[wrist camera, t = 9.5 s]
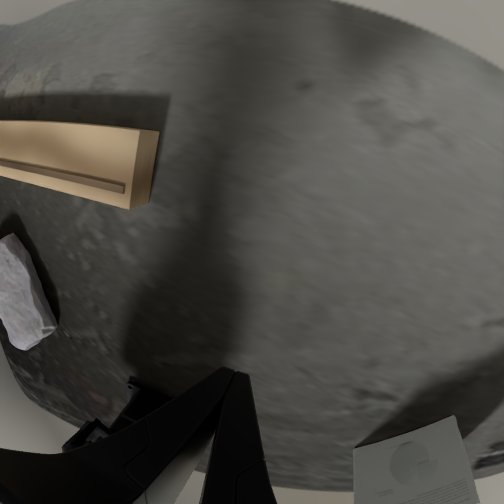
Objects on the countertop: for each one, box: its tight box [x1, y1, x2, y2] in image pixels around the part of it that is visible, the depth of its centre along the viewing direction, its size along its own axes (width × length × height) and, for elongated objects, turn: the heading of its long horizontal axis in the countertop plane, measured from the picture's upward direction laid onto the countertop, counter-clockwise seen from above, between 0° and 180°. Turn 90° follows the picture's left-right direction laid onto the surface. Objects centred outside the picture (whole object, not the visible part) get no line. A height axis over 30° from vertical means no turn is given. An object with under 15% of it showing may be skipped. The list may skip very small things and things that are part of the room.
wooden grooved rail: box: [0, 120, 159, 210], centre depth 20 cm, size 5×26×4 cm, turn 77°
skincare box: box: [353, 415, 480, 504], centre depth 19 cm, size 10×6×10 cm, turn 117°
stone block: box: [0, 233, 58, 350], centre depth 27 cm, size 12×5×10 cm
